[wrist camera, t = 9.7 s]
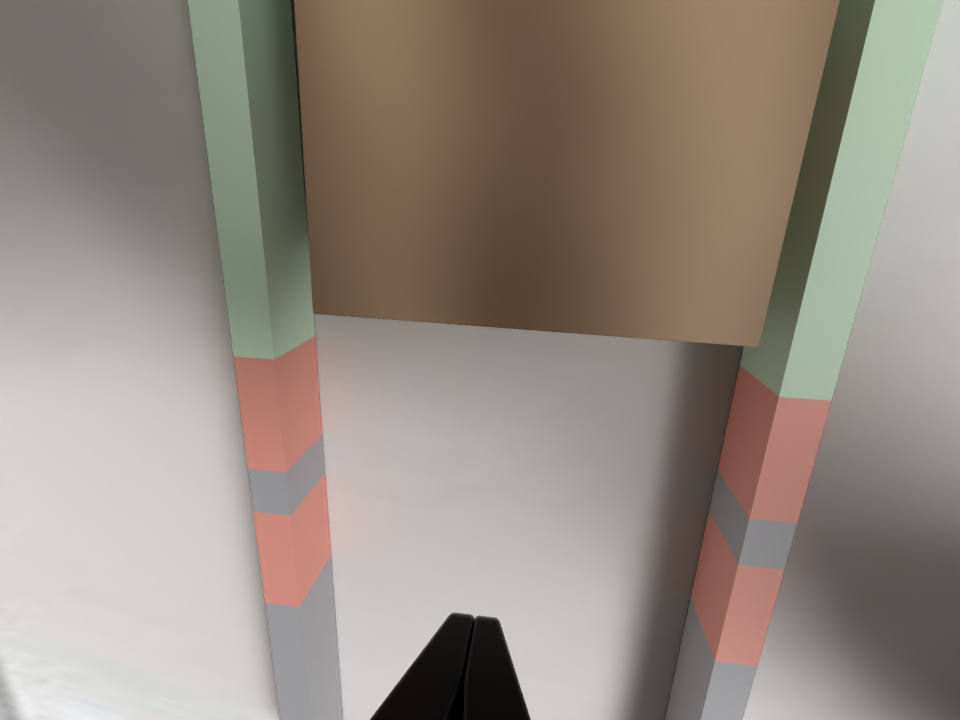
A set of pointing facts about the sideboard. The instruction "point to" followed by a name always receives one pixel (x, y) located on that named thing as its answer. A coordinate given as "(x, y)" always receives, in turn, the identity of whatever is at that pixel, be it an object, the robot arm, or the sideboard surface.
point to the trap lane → (758, 391)
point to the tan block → (556, 159)
